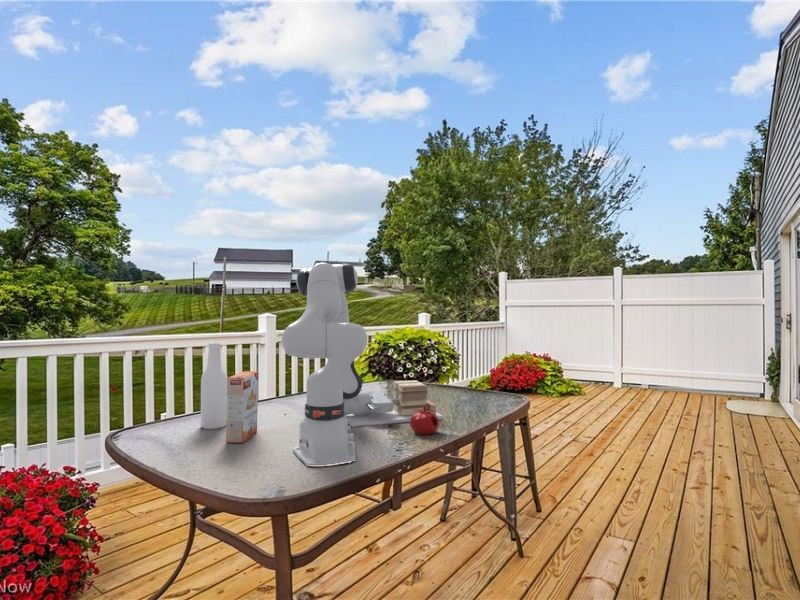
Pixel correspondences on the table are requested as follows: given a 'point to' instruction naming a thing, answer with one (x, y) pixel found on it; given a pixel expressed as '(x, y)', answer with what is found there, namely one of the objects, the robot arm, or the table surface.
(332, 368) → the robot arm
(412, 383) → the crate
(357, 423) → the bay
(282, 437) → the table surface
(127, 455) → the table surface
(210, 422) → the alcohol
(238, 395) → the cracker box
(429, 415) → the red apple
